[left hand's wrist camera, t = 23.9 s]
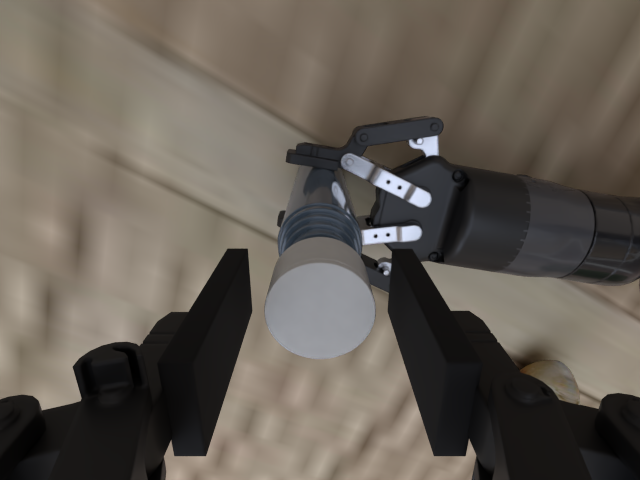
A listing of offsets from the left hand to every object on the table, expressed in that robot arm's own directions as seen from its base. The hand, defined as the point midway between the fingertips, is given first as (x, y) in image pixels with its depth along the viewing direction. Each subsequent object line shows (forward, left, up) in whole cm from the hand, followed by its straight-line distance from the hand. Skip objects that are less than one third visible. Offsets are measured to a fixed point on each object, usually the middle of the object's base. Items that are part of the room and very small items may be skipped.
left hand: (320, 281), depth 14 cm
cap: (0, 0, +2) cm, 2 cm away
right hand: (0, -3, -14) cm, 15 cm away
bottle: (0, 0, -21) cm, 21 cm away
